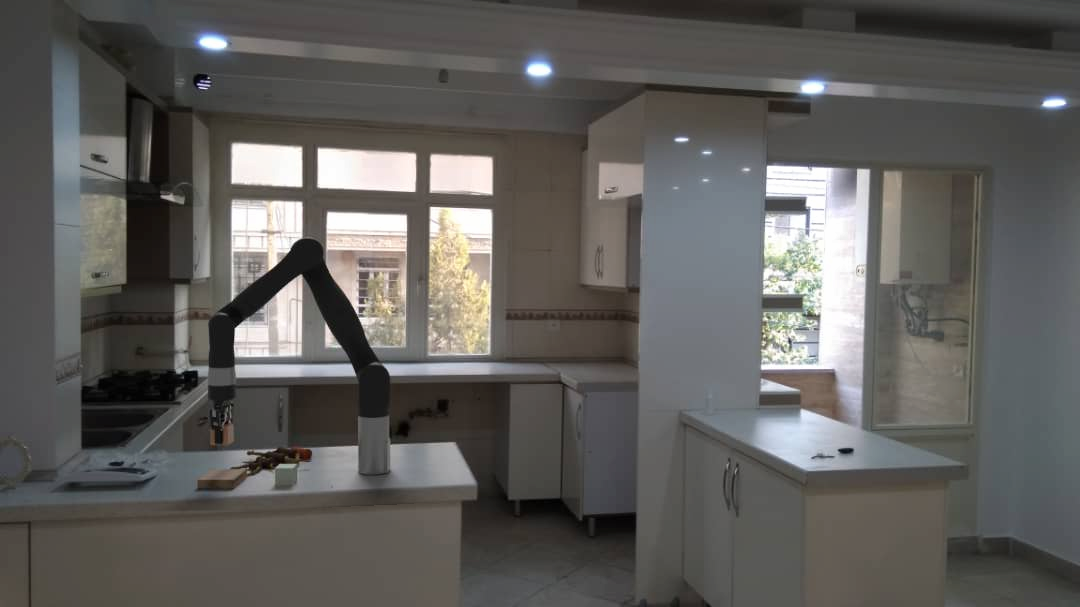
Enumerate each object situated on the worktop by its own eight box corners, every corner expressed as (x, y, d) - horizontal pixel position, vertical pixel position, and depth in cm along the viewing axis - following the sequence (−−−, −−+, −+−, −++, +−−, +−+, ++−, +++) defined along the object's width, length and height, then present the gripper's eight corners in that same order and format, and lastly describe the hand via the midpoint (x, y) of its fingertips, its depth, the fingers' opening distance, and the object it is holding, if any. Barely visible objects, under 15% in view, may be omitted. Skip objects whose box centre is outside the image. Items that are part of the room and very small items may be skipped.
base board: (246, 477, 248) (246, 469, 248) (233, 488, 236) (233, 479, 236) (212, 477, 248) (212, 469, 247) (197, 488, 236) (197, 479, 235)
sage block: (297, 480, 245) (297, 463, 245) (292, 485, 240) (292, 468, 240) (279, 481, 245) (279, 464, 245) (275, 485, 240) (275, 468, 240)
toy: (260, 494, 243) (334, 462, 269) (258, 476, 242) (333, 445, 268) (201, 481, 257) (277, 452, 282) (199, 464, 256) (275, 436, 281)
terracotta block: (233, 441, 244) (233, 424, 244) (228, 445, 239) (228, 427, 239) (216, 441, 244) (216, 424, 243) (210, 445, 239) (210, 427, 238)
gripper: (226, 386, 233) (227, 447, 234) (243, 379, 248) (243, 436, 248) (199, 386, 233) (199, 447, 234) (217, 379, 247) (217, 436, 248)
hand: (222, 441), depth 241 cm, fingers closed on terracotta block, 5 cm apart
